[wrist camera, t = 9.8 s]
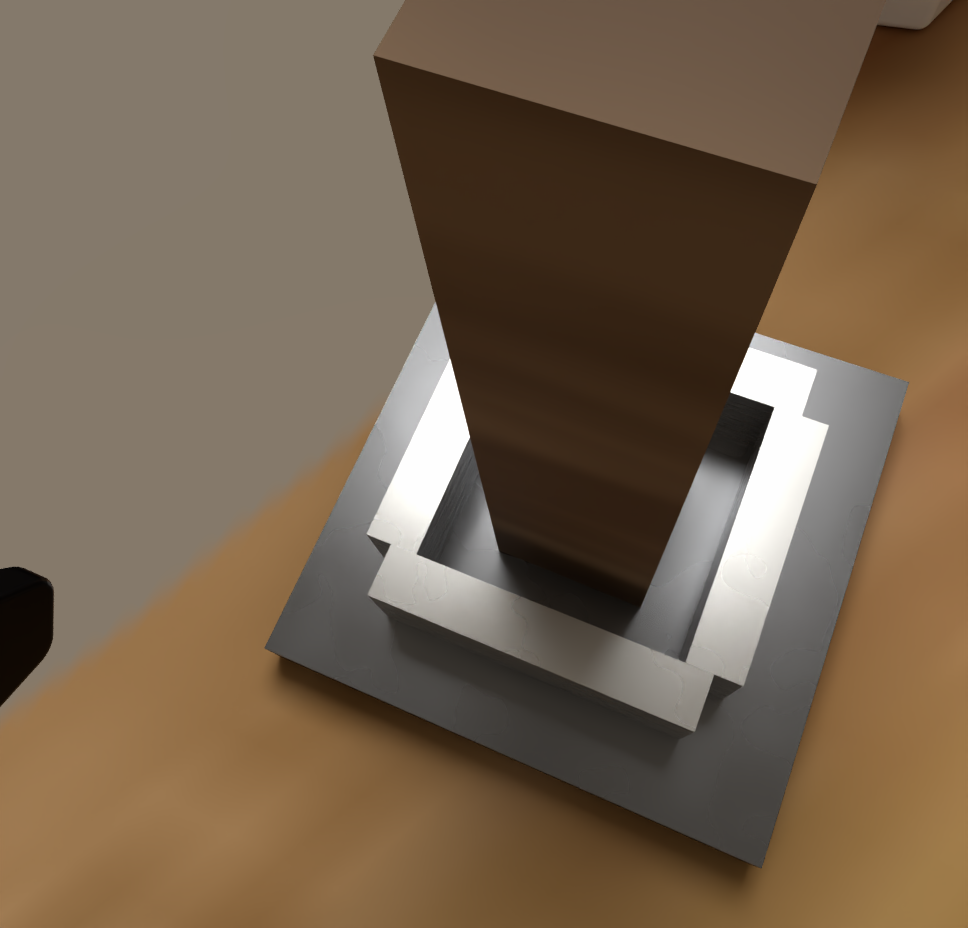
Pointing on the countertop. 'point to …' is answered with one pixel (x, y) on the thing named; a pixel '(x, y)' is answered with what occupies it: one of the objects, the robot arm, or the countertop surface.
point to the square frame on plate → (610, 597)
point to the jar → (911, 13)
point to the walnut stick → (608, 237)
